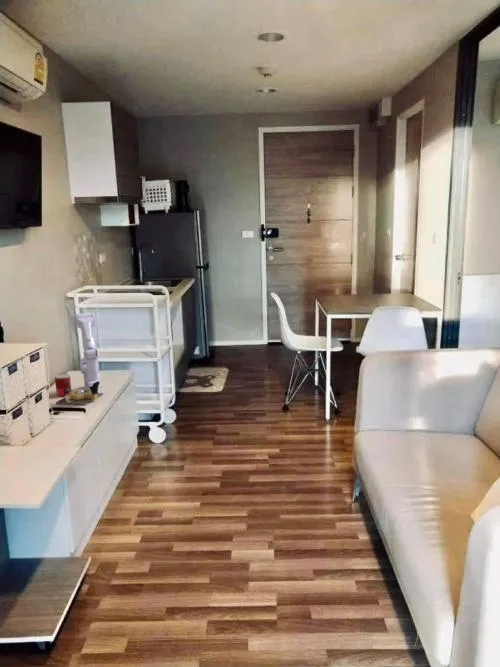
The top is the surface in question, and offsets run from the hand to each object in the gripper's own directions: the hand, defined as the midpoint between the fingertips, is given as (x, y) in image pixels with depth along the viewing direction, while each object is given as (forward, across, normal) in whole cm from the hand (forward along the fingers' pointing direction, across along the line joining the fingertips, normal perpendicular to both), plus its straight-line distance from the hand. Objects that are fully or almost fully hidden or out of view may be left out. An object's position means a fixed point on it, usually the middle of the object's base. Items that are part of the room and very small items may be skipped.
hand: (95, 395), depth 269 cm
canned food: (+2, -11, -19) cm, 22 cm away
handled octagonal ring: (+1, -1, -6) cm, 6 cm away
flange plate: (+2, -2, -8) cm, 9 cm away
